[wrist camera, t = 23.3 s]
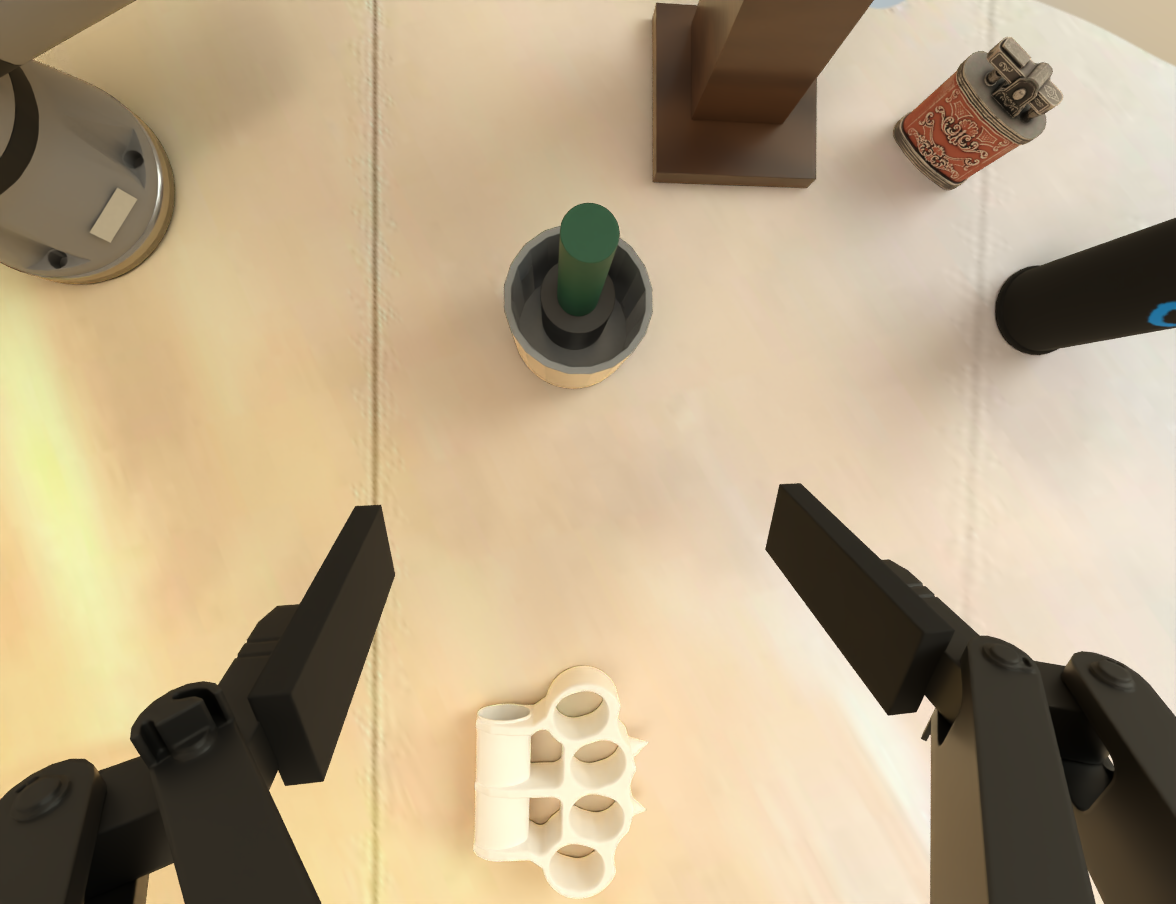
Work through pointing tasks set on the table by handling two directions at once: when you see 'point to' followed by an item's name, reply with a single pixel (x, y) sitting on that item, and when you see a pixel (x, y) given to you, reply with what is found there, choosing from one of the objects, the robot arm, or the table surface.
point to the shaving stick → (581, 278)
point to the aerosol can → (1093, 294)
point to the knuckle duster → (555, 785)
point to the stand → (742, 88)
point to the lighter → (978, 114)
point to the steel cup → (616, 337)
